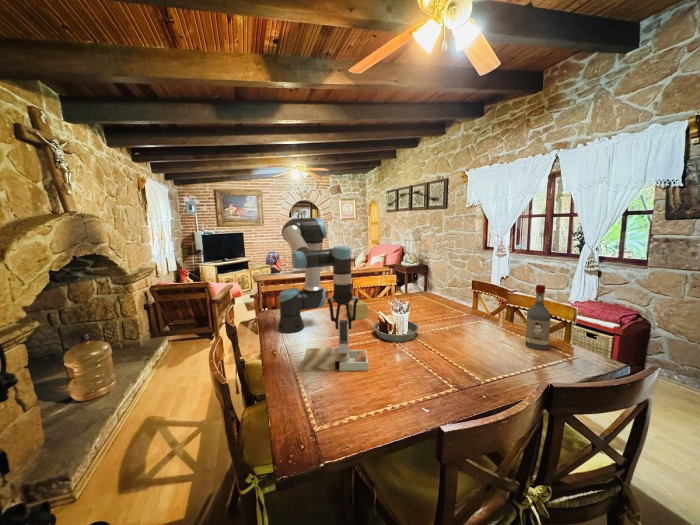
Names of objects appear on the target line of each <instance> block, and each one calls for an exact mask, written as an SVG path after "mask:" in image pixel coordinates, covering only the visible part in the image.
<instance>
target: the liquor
mask: <svg viewBox="0 0 700 525" xmlns="http://www.w3.org/2000/svg"><path fill="white" fill-rule="evenodd" d="M535 292H536V293H535V294H536V295H535V302H534V304H533V305H532V306H531V307H529V308H528V310H527V312H526V326H525V327H526V328H525V329H526V330H525V341H524V344H525V346H526V347H527V348H529V349H533V350H538V351H547V350H548V349H549V344H550V343H549V341H550V331H551V330H550V328H551V314H550V312H549V310H548V309H547V307H546V306H545V304H544V301H545V300H544V297H545V296H544V295H545V293H546V285H543V284H535Z"/></svg>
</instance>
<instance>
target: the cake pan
mask: <svg viewBox="0 0 700 525" xmlns="http://www.w3.org/2000/svg"><path fill="white" fill-rule="evenodd" d="M407 321H408V332H407V334H402V335H394V334H386V333H383V332H380V331H378V330H377V328H378V322H379V321H378V322H376V323H374V324H373V326H372V327H373V330H374V331H375V333H376V336H377V337H378V338H379V339H380V340H381V339H382V340H385V341H389V342H398V343H399V342H407V341H411V340H413V339H415V338H416V334H417V332H418V331H419V329H420V326H419V325H418V324H417V323H415V322H412V321H409V320H407Z"/></svg>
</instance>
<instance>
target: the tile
mask: <svg viewBox="0 0 700 525" xmlns="http://www.w3.org/2000/svg"><path fill="white" fill-rule="evenodd" d="M361 350H362V351H361V352H360V353H359V354H358V355H357V356H356V357H355V362H363V361H364V360H365V359H367V358H366V353H365V352H364V351H363V350H364V349H361Z"/></svg>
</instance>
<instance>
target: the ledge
mask: <svg viewBox="0 0 700 525" xmlns="http://www.w3.org/2000/svg"><path fill="white" fill-rule="evenodd" d="M348 350H350V347H349V346H348ZM340 361H349V353H339V347H311V348H310V347H307V348H306V349H305V353H304V356H303V371H304V372H316V371H317V372H318V371H321V372H322V371H323V372H324V371H336V364H337V363H336V362H340Z"/></svg>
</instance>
